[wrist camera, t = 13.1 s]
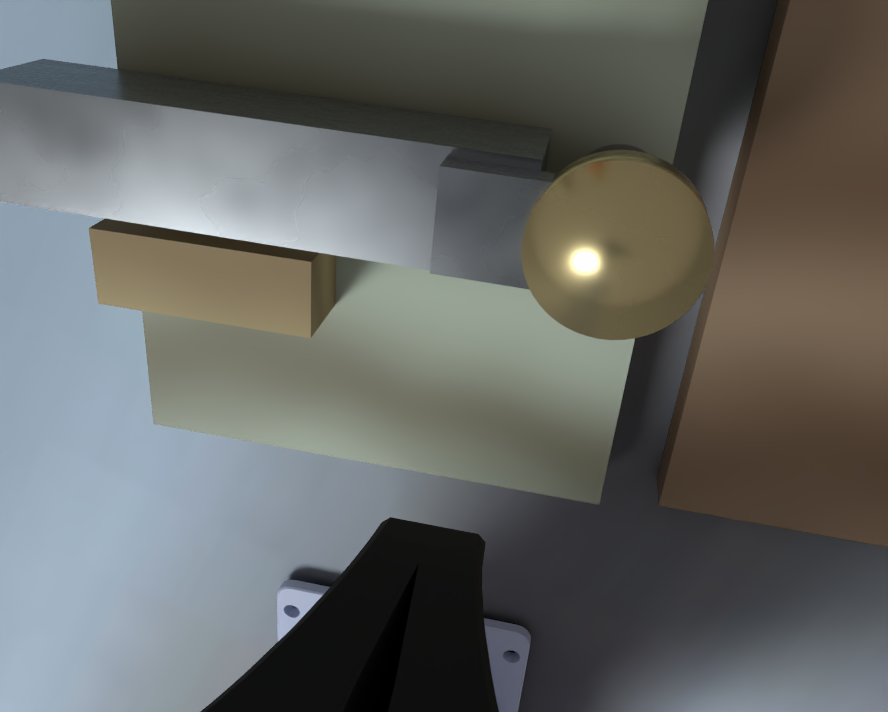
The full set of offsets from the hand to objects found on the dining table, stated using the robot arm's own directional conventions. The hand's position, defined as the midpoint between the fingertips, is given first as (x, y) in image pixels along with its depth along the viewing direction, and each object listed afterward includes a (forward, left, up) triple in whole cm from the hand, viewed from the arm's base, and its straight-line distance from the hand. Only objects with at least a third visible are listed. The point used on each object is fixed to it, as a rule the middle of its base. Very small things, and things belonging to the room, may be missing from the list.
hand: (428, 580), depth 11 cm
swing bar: (+3, +3, -8) cm, 10 cm away
